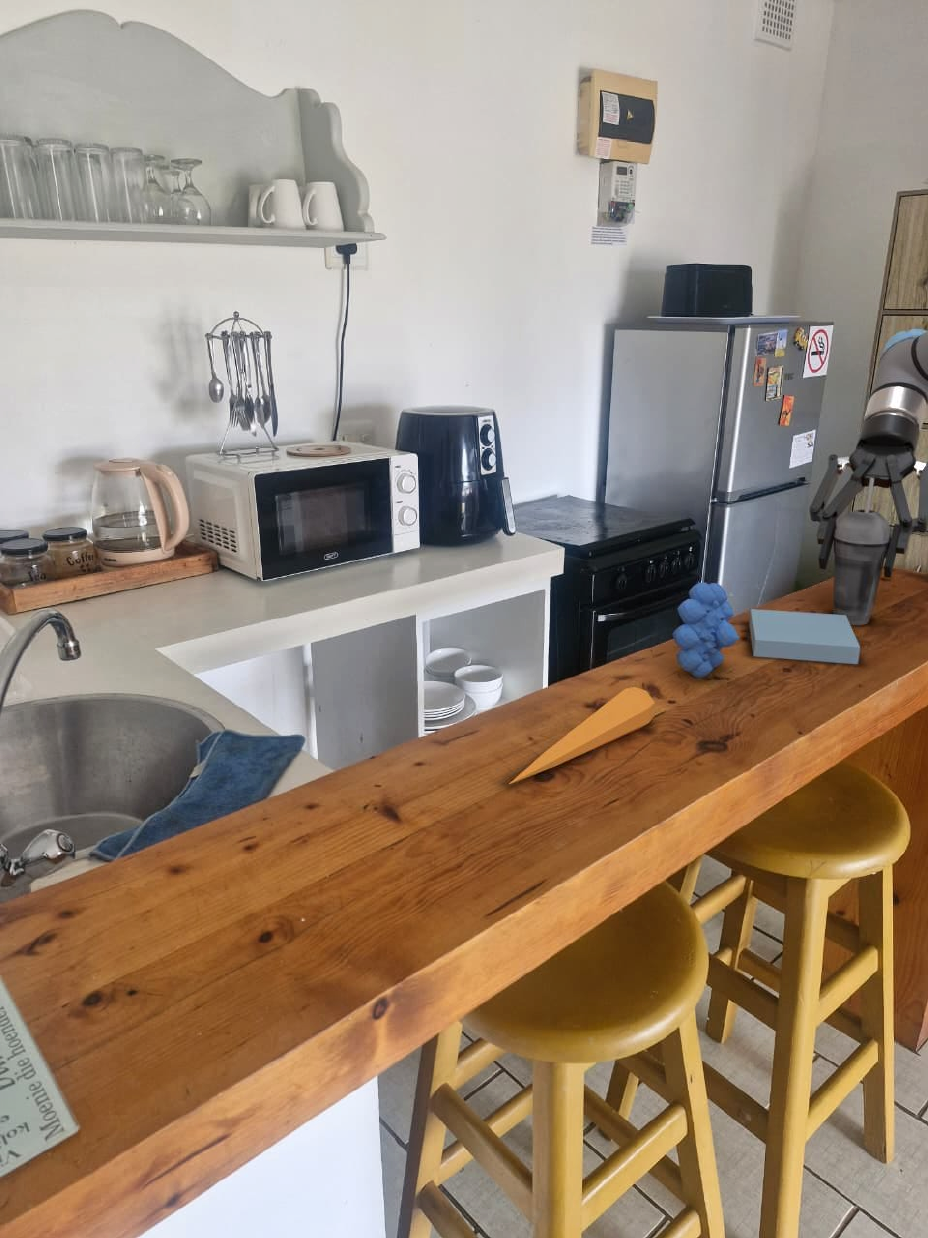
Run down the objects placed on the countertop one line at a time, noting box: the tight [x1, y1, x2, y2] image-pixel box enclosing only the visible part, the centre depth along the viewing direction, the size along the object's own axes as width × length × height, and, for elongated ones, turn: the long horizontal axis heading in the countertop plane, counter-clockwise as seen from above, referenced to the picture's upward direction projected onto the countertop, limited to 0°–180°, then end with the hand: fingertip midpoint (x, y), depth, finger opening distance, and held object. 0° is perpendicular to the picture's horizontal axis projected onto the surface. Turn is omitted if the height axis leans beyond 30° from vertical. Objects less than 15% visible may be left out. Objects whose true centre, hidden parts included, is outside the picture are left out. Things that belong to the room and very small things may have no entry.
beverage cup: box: [832, 478, 892, 626], centre depth 116 cm, size 7×7×20 cm
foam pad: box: [748, 608, 861, 665], centre depth 111 cm, size 12×12×2 cm
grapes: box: [672, 582, 740, 679], centre depth 100 cm, size 12×7×12 cm, turn 138°
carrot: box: [509, 686, 656, 785], centre depth 85 cm, size 20×4×4 cm, turn 132°
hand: (854, 567), depth 114 cm, fingers closed on beverage cup, 7 cm apart
